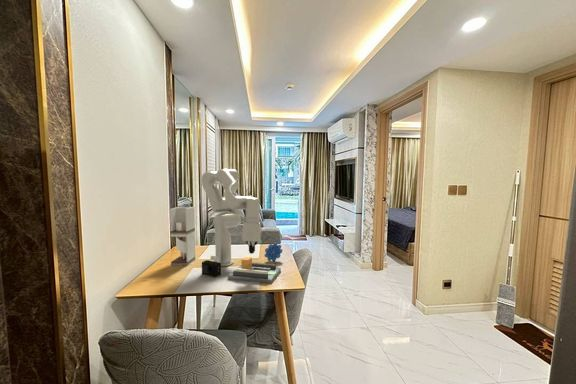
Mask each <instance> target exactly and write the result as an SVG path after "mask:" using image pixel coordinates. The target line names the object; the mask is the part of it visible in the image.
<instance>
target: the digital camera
mask: <svg viewBox="0 0 576 384" xmlns="http://www.w3.org/2000/svg"><path fill="white" fill-rule="evenodd" d="M201 274H202V275H204V276H207V277H213V278H218V277H219V276H222V266H221V263H219V262H214V260H210V259H209V260H204V261H202V262H201Z"/></svg>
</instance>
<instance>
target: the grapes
mask: <svg viewBox="0 0 576 384" xmlns="http://www.w3.org/2000/svg"><path fill="white" fill-rule="evenodd" d="M264 252H265V253H264V257H265V258H266V259H267V261H269V262H271V261H272V262H275V261H277V259H280V258H281V254H282V253H283V249H282V245H281V244H278V243H277V242H273V244H272V243H270V244H268V246H267V248H265V249H264Z"/></svg>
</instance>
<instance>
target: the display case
mask: <svg viewBox="0 0 576 384" xmlns="http://www.w3.org/2000/svg"><path fill="white" fill-rule="evenodd" d="M195 215H196V214H195V206H177V207H172V208H169V219H170V220H169V225H170V233H169V234H170V237H171V238H172V237H173V238H174V237H175V248H176V249H177V251H179V252H180V256H178V257H177V258H175V259H173V260H172V261H171V263H170V265H171V266H189V265H191V264H192V263H193V262H194V261H195V260H196V225H195V223H196V221H195V220H196V218H195Z"/></svg>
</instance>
